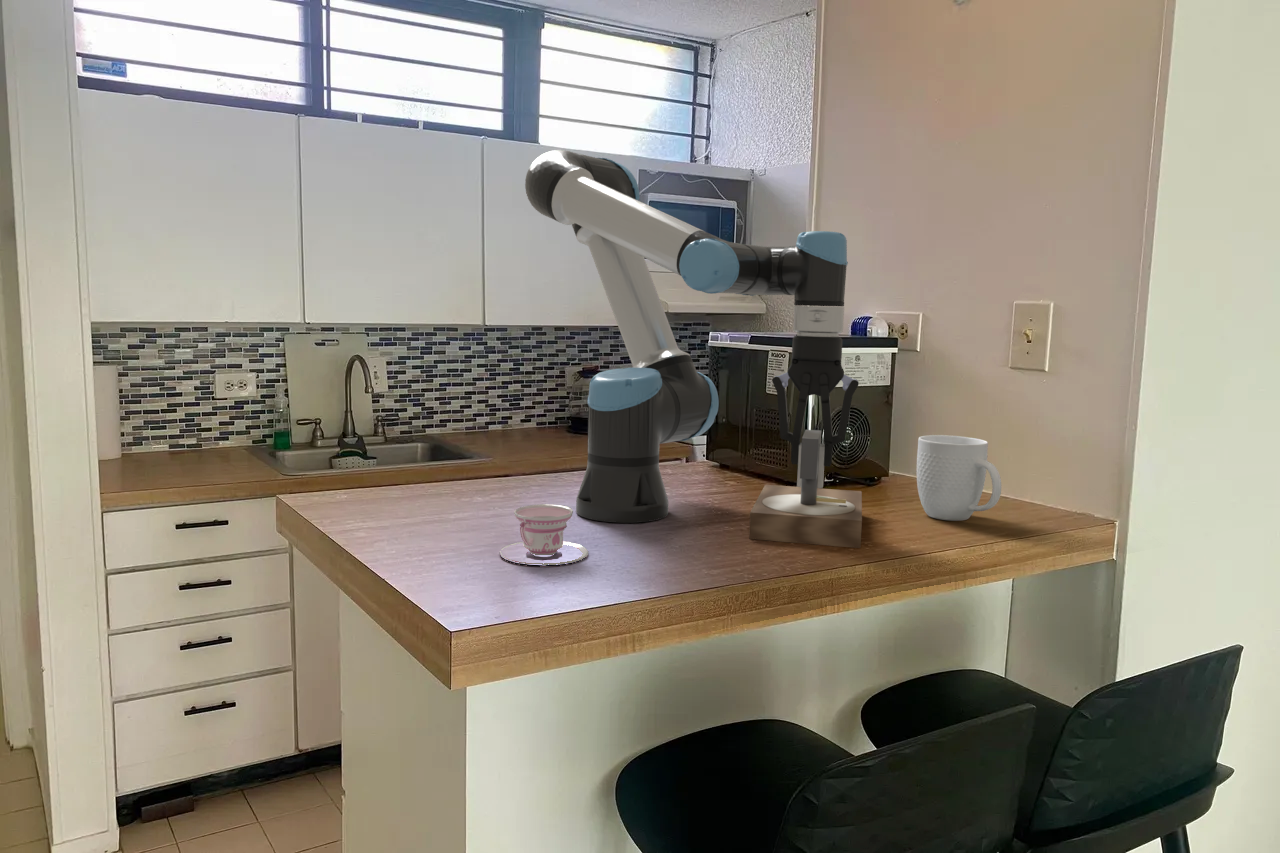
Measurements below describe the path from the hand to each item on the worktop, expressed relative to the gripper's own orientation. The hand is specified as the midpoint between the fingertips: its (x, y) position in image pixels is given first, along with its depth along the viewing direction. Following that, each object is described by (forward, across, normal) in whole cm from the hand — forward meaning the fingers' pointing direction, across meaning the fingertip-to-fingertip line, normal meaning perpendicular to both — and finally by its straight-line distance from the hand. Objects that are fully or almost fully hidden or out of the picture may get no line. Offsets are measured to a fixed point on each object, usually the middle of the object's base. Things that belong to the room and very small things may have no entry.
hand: (810, 485), depth 142 cm
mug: (+7, +23, +14) cm, 28 cm away
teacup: (+7, -34, -28) cm, 45 cm away
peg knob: (+2, +2, -3) cm, 4 cm away
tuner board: (+7, 0, 0) cm, 7 cm away
